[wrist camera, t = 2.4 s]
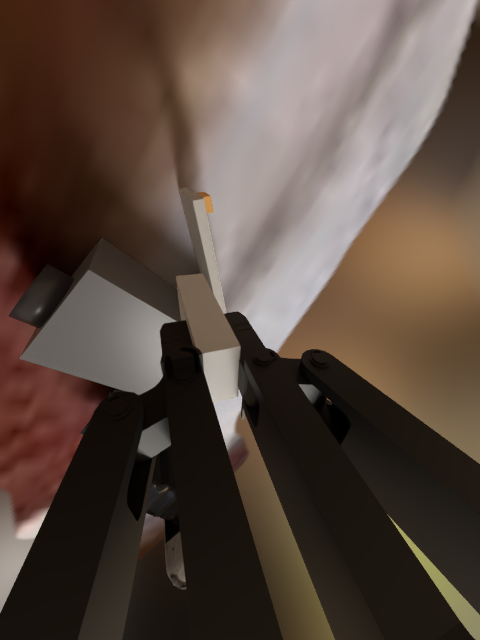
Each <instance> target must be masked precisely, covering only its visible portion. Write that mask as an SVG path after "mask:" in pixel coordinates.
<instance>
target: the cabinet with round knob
mask: <svg viewBox="0 0 480 640" xmlns="http://www.w3.org/2000/svg"><path fill="white" fill-rule="evenodd" d="M9 317H12V318H14V319H17V320H19V321H22V322H25V323H27V324H30V325H32V326H35V327H37V328H36V330H35V331H34V333H33V335H32V337H31V339H30V340H29V342H28V344H27V346H26V347H25V349H24V351H23V353H22V354H21V356H20V358H19V359H22V360H26V361H29V362H32V363H35V364H39V365H42V366H45V367H48V368H51V369H55V370H58V371H61V372H64V373H68V374H71V375H74V376H77V377H81V378H84V379H87V380H90V381H93V382H97V383H100V384H103V385H106V386H110V387H113V388H116V389H119V390H123V391H127V392H134V393H136V394H138V395H140V394H142V393H144V392H146V391H148V390H150V389H152V388H153V387H155V386H156V385H157V384H158V383H159V382H160V380H161V379H162V377H163V374H162V369H161V364H160V361H161V356H162V348H161V339H160V329H161V327H162V326H163V324H164V323H170V322H176V321H181V316H180V308H179V300H178V292H177V289H176V288H175V287H173V286H172V285H171V284H169V283H168V282H166V281H165V280H163V279H162V278H160V277H159V276H157V275H156V274H155V273H153V272H152V271H150V270H149V269H147V268H146V267H144V266H143V265H142V264H140V263H139V262H137V261H136V260H134V259H133V258H131V257H130V256H128V255H127V254H126V253H124V252H123V251H121V250H120V249H118V248H117V247H115V246H114V245H112V244H111V243H110V242H108V241H107V240H105V239H104V238H102V237H101V239H100V240H99V241H98V242H97V244H96V245H95V246H94V248H93V249H92V250H91V252H90V253H89V254H88V255H87V257H86V258H85V259H84V261H83V262H82V263H81V265H80V266H79V267H78V269H77V270H76V271H75V272H74V274H73V275H72V276H69V275H67V274H65V273H63V272H62V271H60V270H58V269H56V268H54V267H52V266H50V265H49V264H47V265H46V266H45V267H44V269H43V270H42V271H41V272H40V274H39V275H38V276H37V278H36V279H35V280H34V282H33V283H32V284H31V286H30V287H29V288H28V290H27V291H26V292H25V294H24V295H23V296H22V298H21V299H20V300H19V302H18V303H17V305H16V306H15V307H14V309H13V310H12V311H11V313H10V314H9Z"/></svg>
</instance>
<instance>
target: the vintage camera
mask: <svg viewBox="0 0 480 640" xmlns="http://www.w3.org/2000/svg"><path fill="white" fill-rule="evenodd" d="M120 392H122V391H118V390H114V392H113V393H112V394H111V392H110V393H109V394H108V397H109V396H112V395H114V394H116V393H120ZM89 422H90V421H89ZM88 424H89V423H88ZM88 424H87V425H86V426H85V427H84V429H83V430H82V431H81V434H84V433H85V431H86V429H87V426H88ZM146 513H148V514H150V515H153V516H154V517H155V516H157V517H160V518H163V519H164V527H165V554H166V568H167V574H168V576H169V578H170V579H171V581H172V583H173V584H174V586H176V587H177V588H180V589H186V581H185V571H184V562H183V553H182V544H181V534H180V525H179V516H178V507H177V497H176V488H175V479H174V469H173V460H172V451H171V445H170V446H169V447H167V448H166V449H164V450H163V451H161V452H160V453H158V454H157V457H156V462H155V468H154V473H153V478H152V483H151V489H150V494H149V499H148V505H147V510H146Z"/></svg>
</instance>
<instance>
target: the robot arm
mask: <svg viewBox="0 0 480 640" xmlns="http://www.w3.org/2000/svg"><path fill="white" fill-rule="evenodd" d="M176 284H177V292H178V300H179V308H180V316H181V321H176V322H170V323H164V324H163V326H162V327H161V329H160V339H161V348H162V356H161V361H160V364H161V369H162V374H163V377H162V379H161V380H160V382H159V383H158V384H157V385H156V386H155V387H153V388H152V389H150V390H148V391H146V392H144V393H142V394H140V395H138V394H136V393H134V392H127V391H125V392H120V393H116V394H114V395H112V396H109V397H107V398H106V399H105V400H104V401H103V402H101V403H100V404H99V406H98V407H97V409H96V410H95V411H94V414H93V416H92V418H91V420H90V422H89V424H88V426H87V429H86V431H85V433H84V435H83V437H82V439H81V441H80V444H79V446H78V448H77V450H76V452H75V454H74V456H73V459H72V461H71V463H70V465H69V467H68V469H67V471H66V474H65V476H64V478H63V480H62V482H61V484H60V486H59V489H58V491H57V493H56V495H55V497H54V499H53V501H52V504H51V506H50V508H49V510H48V512H47V514H46V517H45V519H44V521H43V523H42V525H41V527H40V529H39V532H38V534H37V536H36V538H35V540H34V542H33V544H32V547H31V549H30V551H29V553H28V555H27V557H26V559H25V562H24V564H23V566H22V568H21V570H20V572H19V574H18V577H17V579H16V581H15V583H14V585H13V587H12V589H11V592H10V594H9V596H8V598H7V600H6V602H5V604H4V607H3V609H2V611H1V613H0V640H122V636H123V632H124V626H125V621H126V616H127V610H128V605H129V600H130V595H131V589H132V584H133V578H134V574H135V568H136V563H137V558H138V552H139V547H140V542H141V536H142V531H143V526H144V521H145V515H146V510H147V505H148V499H149V494H150V489H151V483H152V478H153V473H154V468H155V462H156V457H157V454H158V453H160V452H161V451H163V450H164V449H166V448H167V447H169V446H170V445H171V451H172V460H173V469H174V479H175V488H176V497H177V507H178V516H179V525H180V534H181V544H182V553H183V562H184V571H185V581H186V590H187V599H188V609H189V618H190V627H191V636H192V640H283V638H282V635H281V632H280V628H279V625H278V621H277V618H276V615H275V611H274V608H273V604H272V601H271V598H270V594H269V591H268V587H267V584H266V581H265V577H264V574H263V571H262V567H261V564H260V561H259V557H258V554H257V550H256V547H255V544H254V540H253V537H252V533H251V530H250V527H249V523H248V520H247V516H246V513H245V510H244V506H243V503H242V500H241V496H240V493H239V489H238V486H237V482H236V479H235V476H234V472H233V469H232V465H231V462H230V459H229V455H228V452H227V449H226V445H225V442H224V438H223V435H222V432H221V428H220V425H219V421H218V418H217V415H216V411H215V408H214V405H213V403H215V402H219V401H223V400H227V399H231V398H235V397H238V389H239V390H240V393H241V395H242V410H241V416H242V419H244V418H245V415H246V417H247V420H248V422H249V424H250V427H251V430H252V432H253V435H254V437H255V440H256V442H257V445H258V447H259V450H260V452H261V455H262V457H263V460H264V462H265V465H266V467H267V470H268V472H269V475H270V477H271V480H272V482H273V485H274V487H275V490H276V492H277V495H278V497H279V500H280V503H281V505H282V508H283V510H284V512H285V515H286V517H287V520H288V523H289V525H290V528H291V530H292V533H293V535H294V538H295V540H296V542H297V545H298V548H299V550H300V553H301V555H302V558H303V560H304V563H305V565H306V568H307V570H308V572H309V575H310V578H311V580H312V582H313V585H314V588H315V589H316V593H317V595H318V598H319V600H320V602H321V605H322V607H323V610H324V613H325V615H326V618H327V620H328V623H329V625H330V628H331V630H332V633H333V635H334V638H335V640H475V639H474V638H473V637H472V636H471V635H470V634H469V632H468V631H467V630H466V628H465V627H464V626H463V624H462V623H461V622H460V620H459V619H458V617H457V616H456V615H455V613H454V612H453V610H452V609H451V607H450V606H449V604H448V603H447V601H446V600H445V598H444V597H443V595H442V594H441V592H439V589H438V588H437V587H436V585H435V584H434V582H433V581H432V579H431V578H430V576H429V575H428V573H427V572H426V570H425V569H424V568H423V566H422V565H421V563H420V562H419V560H418V559H417V557H416V556H415V554H414V553H413V552H412V550H411V548H410V547H409V546H408V544H407V543H406V541H405V540H404V538H403V537H402V535H401V534H400V532H399V531H398V529H397V528H396V526H395V525H394V524H393V522H392V521H391V519H390V518H389V516H390V517H391V518H392V520H393V521H394V522H395V523H396V524H397V525H398V526H399V527H400V528H401V529H402V530H403V531H404V533H405V534H406V535H407V536H408V537H409V538H410V539H411V540H412V541H413V542H414V543H415V544H416V546H417V547H418V548H419V549H420V550H421V551H422V552H423V553H424V554H425V556H426V557H427V558H428V559H429V560H430V561H431V562H432V563H433V564H434V565H435V566H436V568H437V569H438V570H439V571H440V572H441V573H442V574H443V575H444V576H445V577H446V578H447V579H448V581H449V582H450V583H451V584H452V585H453V586H454V587H455V588H456V589H457V590H458V591H459V592H460V594H461V595H462V596H463V597H464V598H465V599H466V600H467V601H468V602H469V603H470V605H471V606H472V607H473V608H474V609H475V610H476V611H477V612H478V613H479V614H480V464H479V463H477V462H476V461H475V460H473V459H472V458H471V457H469V456H468V455H467V454H465V453H464V452H462V451H461V450H460V449H458V448H457V447H455V446H454V445H453V444H452V443H450V442H449V441H448V440H446V439H445V438H443V437H442V436H441V435H439V434H438V433H437V432H435V431H434V430H433V429H431V428H430V427H429V426H427V425H426V424H424V423H423V422H422V421H420V420H419V419H418V418H416V417H415V416H413V415H412V414H411V413H410V412H408V411H407V410H405V409H404V408H403V407H401V406H400V405H399V404H397V403H396V402H395V401H393V400H392V399H391V398H389V397H388V396H387V395H385V394H384V393H382V392H381V391H380V390H378V389H377V388H376V387H374V386H373V385H372V384H370V383H369V382H368V381H366V380H365V379H363V378H362V377H361V376H359V375H358V374H357V373H355V372H354V371H353V370H351V369H350V368H348V367H347V366H346V365H344V364H343V363H342V362H340V361H339V360H338V359H336V358H335V357H334V356H332V355H331V354H329V353H327V352H325V351H322V350H317V349H315V350H314V349H311V350H307V351H305V352H304V353H303V355H302V357H301V359H287V358H281V357H279V355H278V354H277V353H276V352H275V351H273V350H271V349H268V348H265V346H264V345H263V343H262V342H261V340H260V339H259V337H258V335H257V334H256V332H255V331H254V329H253V328H252V326H251V325H250V324H249V321H248V320H247V318H246V317H245V316H244V315H242V314H241V313H239V312H231V313H225V314H224V313H223V311H222V309H221V308H220V306H219V304H218V302H217V300H216V298H215V296H214V294H213V292H212V290H211V288H210V286H209V285H208V283H207V281H206V279H205V277H204V275H203V273H202V274H192V275H182V276H176ZM326 398H328V399H329V400H330V401H331V402H330V401H329V400H327V399H326ZM387 514H388V515H389V516H388V515H387Z"/></svg>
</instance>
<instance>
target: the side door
mask: <svg viewBox="0 0 480 640" xmlns="http://www.w3.org/2000/svg"><path fill="white" fill-rule="evenodd" d="M179 192H180V196H181V200H182V204H183V208H184V212H185V216H186V220H187V224H188V228H189V232H190V236H191V240H192V244H193V248H194V252H195V256H196V260H197V264H198V268H199V272H200V274H202V273H203V275H204V277H205V279H206V281H207V283H208V285H209V286H210V288H211V290H212V292H213V294H214V296H215V298H216V300H217V302H218V304H219V306H220V308H221V309H222V311H223V313H224V314H225V313H226V308H225V303H224V298H223V293H222V288H221V282H220V277H219V272H218V267H217V262H216V257H215V252H214V247H213V242H212V237H211V232H210V227H209V222H208V217H207V213H211V212H213V207H212V201H211V196H210V195H208V194H207V193H205V192H201V193H195V192H194V191H192V190H191V189H189V188H188V187H185V188H180V189H179Z"/></svg>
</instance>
